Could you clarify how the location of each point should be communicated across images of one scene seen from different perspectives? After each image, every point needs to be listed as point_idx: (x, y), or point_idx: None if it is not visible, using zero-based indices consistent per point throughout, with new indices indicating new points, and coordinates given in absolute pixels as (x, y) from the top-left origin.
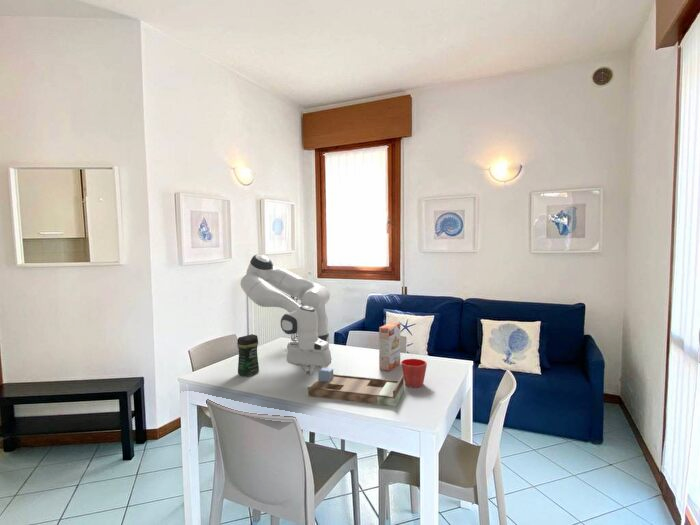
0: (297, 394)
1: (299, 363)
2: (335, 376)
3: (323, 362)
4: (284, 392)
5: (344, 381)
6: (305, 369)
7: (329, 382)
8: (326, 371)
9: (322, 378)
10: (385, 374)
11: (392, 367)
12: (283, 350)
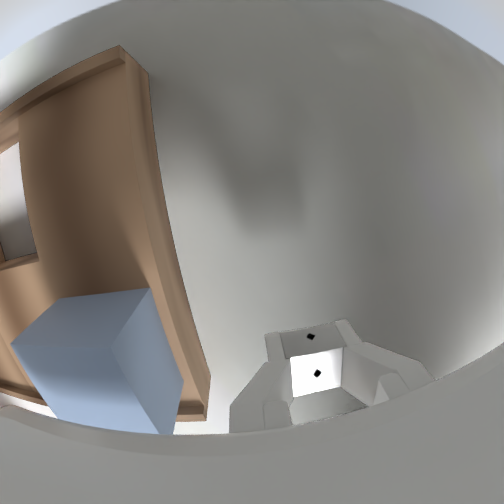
0: (250, 56)
1: (488, 360)
2: None
3: (5, 449)
4: (371, 63)
5: (11, 335)
6: (362, 353)
7: (48, 284)
8: (44, 367)
9: (98, 304)
10: None
11: None
12: None
